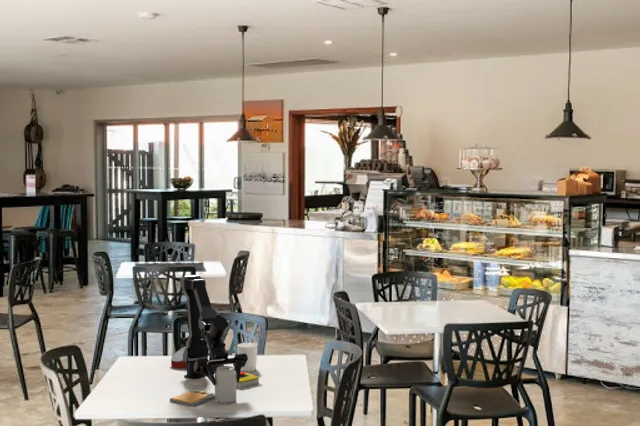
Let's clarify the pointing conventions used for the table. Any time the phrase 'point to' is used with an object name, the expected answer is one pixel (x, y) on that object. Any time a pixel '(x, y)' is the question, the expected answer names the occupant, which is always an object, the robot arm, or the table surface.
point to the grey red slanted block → (178, 360)
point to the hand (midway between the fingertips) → (226, 383)
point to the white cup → (249, 355)
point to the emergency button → (247, 381)
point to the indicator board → (193, 397)
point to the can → (225, 384)
